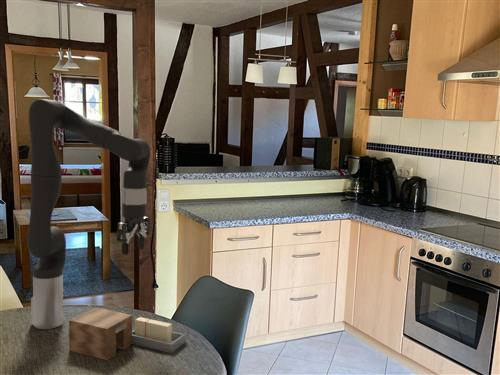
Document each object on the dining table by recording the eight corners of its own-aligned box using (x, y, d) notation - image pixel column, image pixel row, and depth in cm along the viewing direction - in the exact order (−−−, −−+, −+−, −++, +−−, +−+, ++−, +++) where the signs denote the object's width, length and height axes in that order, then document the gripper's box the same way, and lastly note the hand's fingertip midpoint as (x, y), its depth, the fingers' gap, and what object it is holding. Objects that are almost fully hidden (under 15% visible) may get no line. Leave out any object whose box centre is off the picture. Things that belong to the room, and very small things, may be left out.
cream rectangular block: (134, 337, 156) (135, 319, 156) (139, 334, 159) (139, 316, 158) (167, 345, 152) (167, 326, 151) (171, 342, 154) (171, 323, 154)
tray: (126, 342, 154) (126, 334, 154) (142, 332, 162) (142, 324, 162) (171, 353, 148) (171, 344, 148) (185, 342, 156) (185, 334, 155)
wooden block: (69, 350, 147) (69, 320, 146) (95, 335, 158) (95, 307, 157) (108, 360, 142) (108, 329, 141) (133, 344, 153) (133, 315, 152)
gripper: (137, 198, 163) (137, 245, 165) (110, 203, 150) (109, 255, 152) (157, 200, 160) (155, 248, 162) (130, 205, 147) (129, 258, 149)
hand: (133, 251), depth 157 cm, fingers open, 8 cm apart
